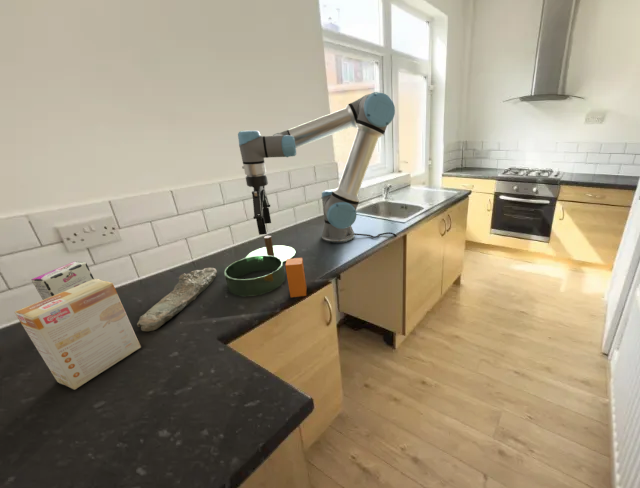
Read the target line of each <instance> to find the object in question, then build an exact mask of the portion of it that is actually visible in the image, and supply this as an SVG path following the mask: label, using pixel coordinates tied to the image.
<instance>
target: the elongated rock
mask: <svg viewBox="0 0 640 488" xmlns="http://www.w3.org/2000/svg"><path fill="white" fill-rule="evenodd" d="M217 275H218V271H217V269H216V268H214V267H205V268H202V269H194V270H192V271H190V272H188V273H182V274H180V275H179V277H178V282H177V283H176V284H175V285H174V286H173V290H171V291H170V292H169V293H167V294H166V295H165V296H163V297H162V298H161V299H160V300H159V301H158V302H156V303H155V304H154V305H153V306H151V308H149V309H147V311H146V312H145V313H144V314H142V315H140V316H139V317H138V319H139V320H138V321H137V323H136V326H137V327H138V328H139V327H140V331H142V332H152V331H157V330H158V329H160V328H161V326H163V325H164V324H165V323H166V322H169V321H170V320H171V319H173V317H175V316H176V315H177V314H179V313H180V312H182V311H183V310H184V309H185V307H187V306H189V305H190V304H191V303H192V302H193V301H195V300H196V299H197V297H198V296H199V295H200V294H202V292H204V291H205V290H206V289H207V288H208V287H209V286H210V285H211V283H213V282H214V279H216V277H217Z"/></svg>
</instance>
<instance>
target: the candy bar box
mask: <svg viewBox="0 0 640 488" xmlns="http://www.w3.org/2000/svg"><path fill="white" fill-rule="evenodd" d="M93 279H95V277H94V275H93V274H92V271H91V270H90V268H89V265H88V264H87V262H85V261H84V262H83V261H72V262H70V263H68V264H65V265H62V266H60V267H58V268H54V269H52V270H51V271H48V272H46V273H44V274H43V273H42V274H41V275H38V276H36V277H33V278H31V280H30V281H31V282H32V284H33V286H34V288H35V289H36V291H37V293H38V294H39V296H40V298H41V300H44V299H47V298H49V297H52V296H54V295H56V294H59V293H61V292H64V291H66V290H69V289H71V288H74V287H76V286H78V285H81V284H83V283H85V282H88V281H90V280H93Z"/></svg>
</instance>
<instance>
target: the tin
mask: <svg viewBox="0 0 640 488" xmlns="http://www.w3.org/2000/svg"><path fill="white" fill-rule="evenodd" d="M284 267H285V266H284V263H283V262H282V260H281V259H280V258H278V257H275V256H268V255H261V256H253V257H248V258H246V257H244V258H242V259H238V260H236V261H234V262H232V263H230V264H229V265H227V266H226V267H225V269H224V272H223V273H224V278H225V281H226V286H227V289H228V291H229V292H230V294H232V295H235V296H238V297H239V296H241V297H253V296H259V295H263V294H266V293H269V292H272V291H274V290H276V289H278V288H279V287H281V286H282V285H283V284H284V282H285V281H286V274H285V273H286V271H285V268H284ZM259 271H272V272H270V273H268V274H265V275H263V276H258V277H252V278H245V279H244V278H240V277H242V276H244V275H247V274H250V273H254V272H259Z"/></svg>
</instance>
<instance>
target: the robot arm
mask: <svg viewBox="0 0 640 488" xmlns="http://www.w3.org/2000/svg"><path fill="white" fill-rule="evenodd" d="M395 115H396V108H395V104H394V101H393V100H392V98H391V97H390V96H389V95H388V94H387V93H385V92H384V93H383V92H380V91H374V92H371V93H367V94H365V95H363V96H362V97H360V98H358V99H357V100H355V101H353V102H350V103H348V104H346V105H345V108H342V109H339V110H336V111H334V112H331V113H329V114H326V115H323V116H320V117H318V118H316V119H313V120H310V121H307V122H305V123H301V124H300V125H297V126H294V127H291V128H289V129H287V130H284V131H281V132H277V133H274V134H272V135H267V136H266V135H262V134H261V133H260V131H259V130H241V131H238V132H237V138H238V146H239V151H240V155H241V160H242V161H241V162H242V166H241V169H243V171H244V175H246V176H245V183H246V186H247V187H250V188H253V190H252V191H251V196H252V206H253V220H255V221H256V226H257V231H258V235H259V236H261V235H267V233H268V232H267V227H266V226H267V225H266V224H272V217H271V214H270V213H271V212H270V208H271V204H270V202H269V199H268V195H267V191H266V186H267V185H268V184H269V181H268V180H269V179H268V175H267V168H266V163H265V158H266V159H269V158H289V157H296V156H297V149H298V148H301V147H303V146H305V145H308V144H310V143H314V142H317V141H318V140H321V139H324V138H326V137H329V136H331V135H335V134H337V133H341V132H342V131H345V130H348V129H350V128H353V129H357V131H356V133H355V136H354V140H353V142H352V146H351V148H350V151H349V154H348V157H347V160H346V162H345V166H344V169H343V171H342V174H341V177H340V180H339V183H338V187H337V188H334V189H326V190H323V191H322V192H321V202H322V210H323V212H322V213H323V221H324V224H323V229H322V233H321V239H322V240H323V241H324V242H327V243H330V244H343V243H348V242H350V241H352V240H354V238H355V236H364V237H370V238H372V239H378V238H379V237H380V236H383V235H393V236H395V237H397V236H398V235H397V234H396V233H393V232H389V231H388V232H382V233H379V234H377V235H372V234H366V233H355V232H354V229H353V225H354V224H355V222H356V219H357V208H358V206H359V203H360V198H359V196H358V195H359V193H360V190H361V187H362V185H363V181H364V179H365V176H366V173H367V170H368V167H369V165H370V162H371V159H372V157H373V154H374V151H375V148H376V146H377V143H378V140H379V139H380V138H381V137H383V136H384V135H385V132H386V130H387V128H388V126H389V125H390V124H391V123H392V121H393V120H394V118H395Z"/></svg>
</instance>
